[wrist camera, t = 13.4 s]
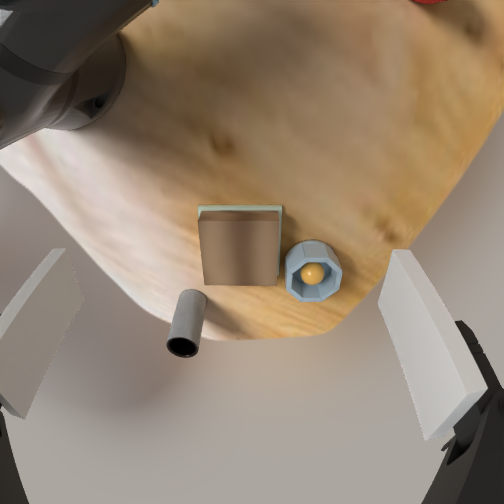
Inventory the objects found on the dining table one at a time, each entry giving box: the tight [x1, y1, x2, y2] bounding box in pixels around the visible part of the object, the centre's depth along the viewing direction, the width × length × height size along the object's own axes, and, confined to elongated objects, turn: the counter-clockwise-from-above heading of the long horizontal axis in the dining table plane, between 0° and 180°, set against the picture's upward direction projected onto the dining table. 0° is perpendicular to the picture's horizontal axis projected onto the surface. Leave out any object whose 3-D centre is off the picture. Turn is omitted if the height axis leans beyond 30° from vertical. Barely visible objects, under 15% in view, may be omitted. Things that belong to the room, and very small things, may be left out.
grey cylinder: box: [167, 289, 207, 358], centre depth 46 cm, size 4×4×10 cm
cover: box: [198, 210, 279, 286], centre depth 43 cm, size 10×10×3 cm
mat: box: [198, 205, 282, 275], centre depth 44 cm, size 11×11×1 cm
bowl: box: [284, 240, 342, 302], centre depth 44 cm, size 8×8×4 cm
